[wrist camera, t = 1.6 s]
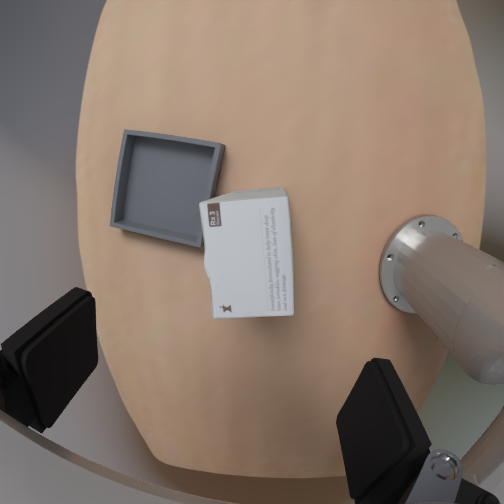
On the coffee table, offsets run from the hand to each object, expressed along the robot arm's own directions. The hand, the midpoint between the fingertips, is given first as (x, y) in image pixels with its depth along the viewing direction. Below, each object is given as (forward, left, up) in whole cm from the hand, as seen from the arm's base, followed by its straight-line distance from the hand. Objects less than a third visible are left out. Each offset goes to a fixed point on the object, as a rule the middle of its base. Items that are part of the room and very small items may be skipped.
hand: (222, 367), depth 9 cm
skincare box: (0, 0, -25) cm, 25 cm away
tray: (+11, -2, -25) cm, 27 cm away
